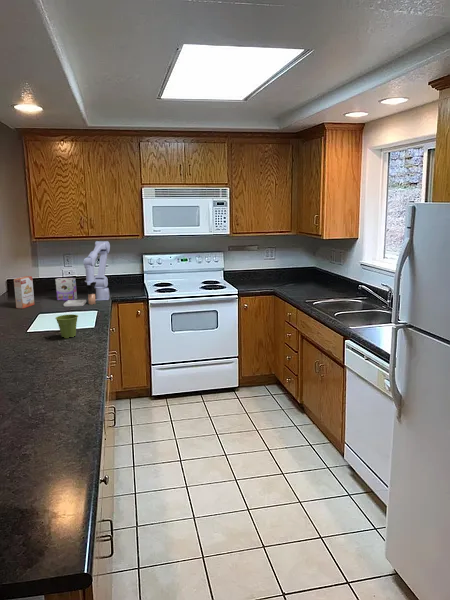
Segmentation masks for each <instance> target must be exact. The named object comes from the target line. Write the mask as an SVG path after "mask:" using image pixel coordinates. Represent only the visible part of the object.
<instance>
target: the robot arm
mask: <svg viewBox="0 0 450 600" xmlns="http://www.w3.org/2000/svg"><path fill="white" fill-rule="evenodd" d="M110 250H111V244H110V242H109V241H108V240H106V241H104V240H103V241H102V240H99V241H98V240H96V241H95V242H94V248H93V250H92V251H90V252H89V253H88V256H87V257H85V258H84V259H83V267H84V269H85V279H86V280H84V282H85V283H86V284H85V285H84V287H85V288H86V290H87V295H88V294H93V293H95V299H96V301H109V300H110V289H109V287H108V285H109V282H108V281H109V280H108V277H107V276H106V268H107V259H108V255H109V253H110ZM99 255H100V256H99ZM98 257H99V264H98V271H97V274H96V275H95V265H96V259H98Z"/></svg>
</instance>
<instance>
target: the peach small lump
mask: <svg viewBox="0 0 450 600" xmlns="http://www.w3.org/2000/svg"><path fill="white" fill-rule="evenodd" d="M87 299H88V300H87V301H88V305H89V304H90V305H92V306H94V305H96V304H97V302H96V293H92V294H88V293H87ZM93 304H94V305H93Z"/></svg>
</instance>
